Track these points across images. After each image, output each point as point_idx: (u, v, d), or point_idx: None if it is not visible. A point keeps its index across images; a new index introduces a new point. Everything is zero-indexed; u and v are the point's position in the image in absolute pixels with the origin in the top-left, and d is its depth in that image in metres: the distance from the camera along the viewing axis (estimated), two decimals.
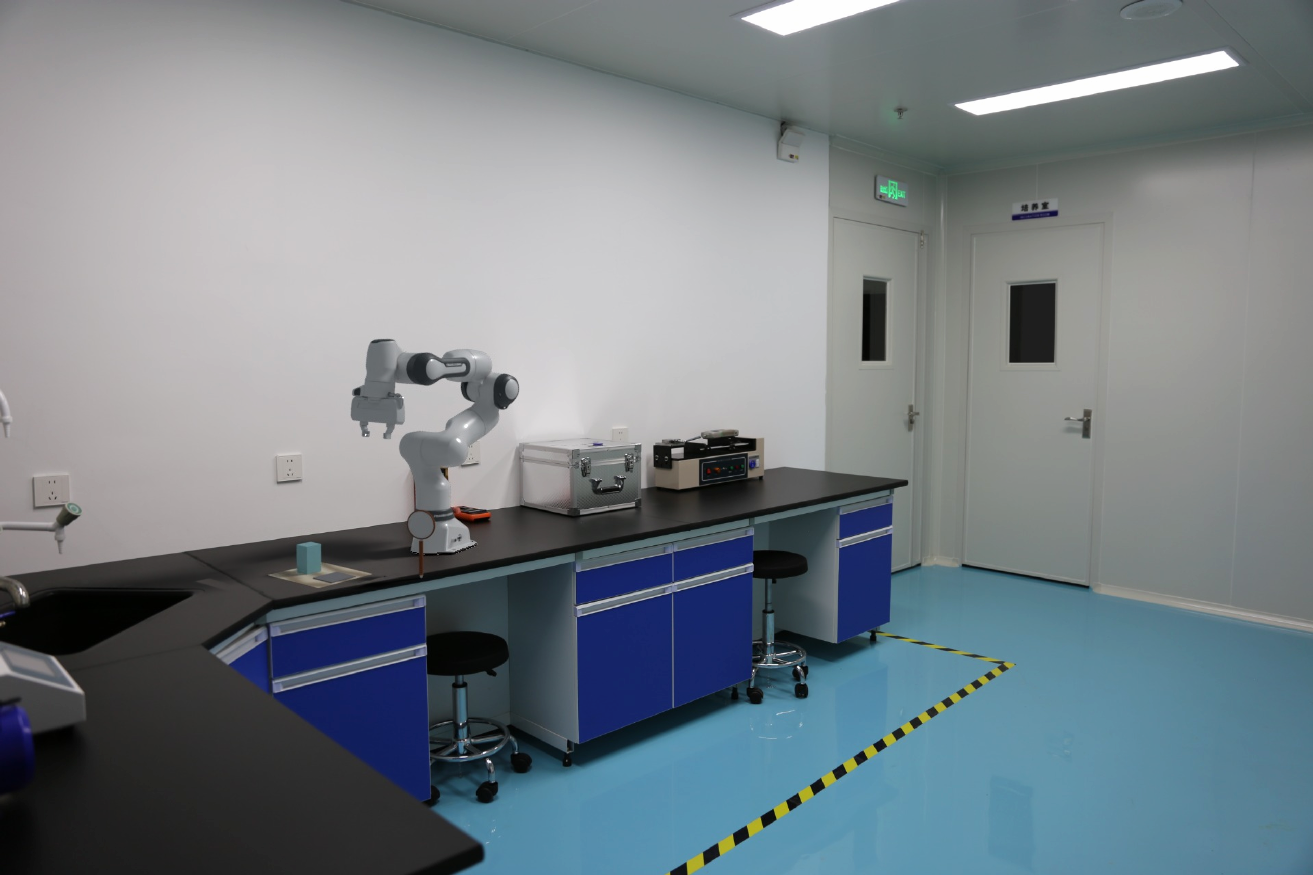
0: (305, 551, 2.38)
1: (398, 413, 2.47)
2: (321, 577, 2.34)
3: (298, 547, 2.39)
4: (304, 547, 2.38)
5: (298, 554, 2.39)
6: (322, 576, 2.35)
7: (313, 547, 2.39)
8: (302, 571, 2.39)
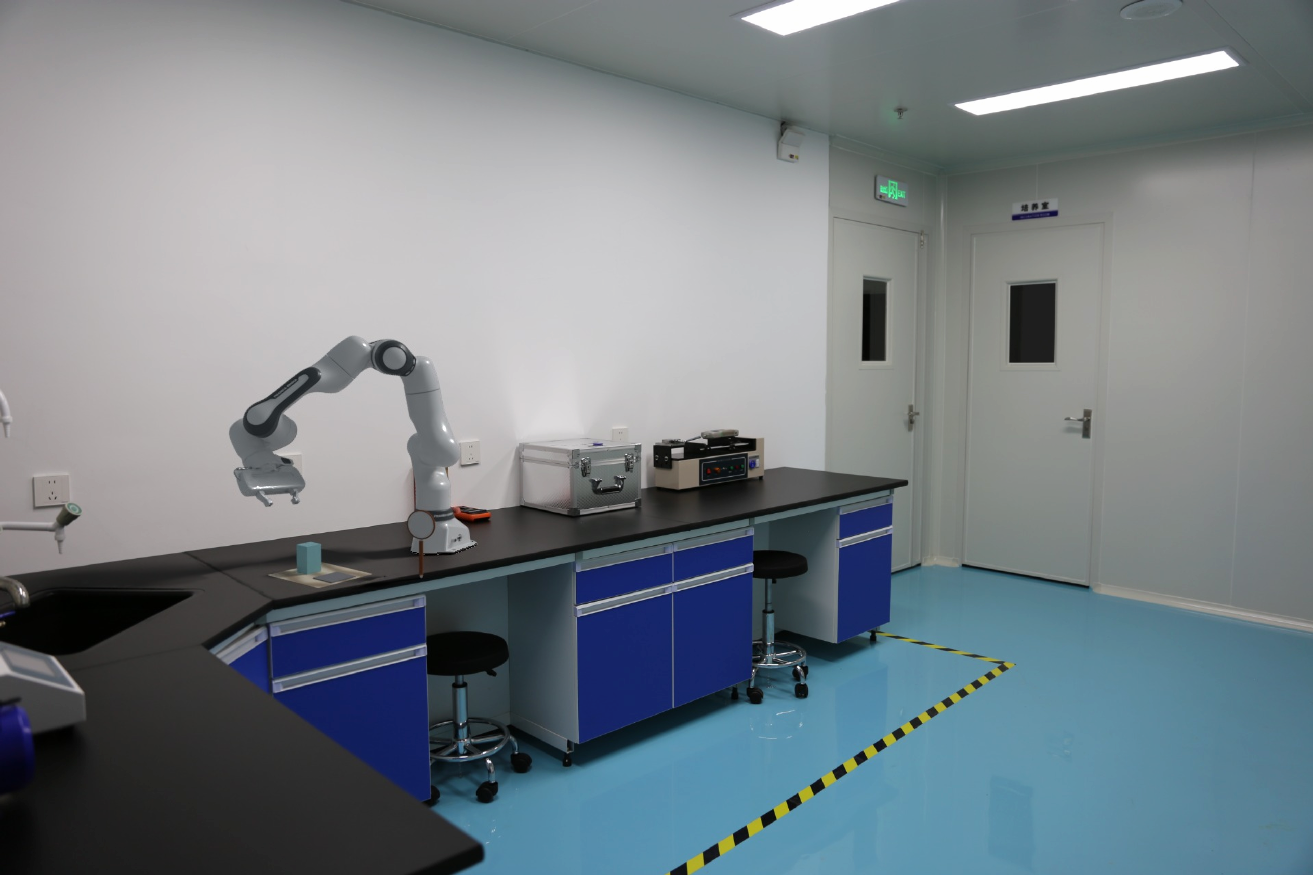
0: (305, 551, 2.38)
1: (239, 486, 2.38)
2: (321, 577, 2.34)
3: (298, 547, 2.39)
4: (304, 547, 2.38)
5: (298, 554, 2.39)
6: (322, 576, 2.35)
7: (313, 547, 2.39)
8: (302, 571, 2.39)
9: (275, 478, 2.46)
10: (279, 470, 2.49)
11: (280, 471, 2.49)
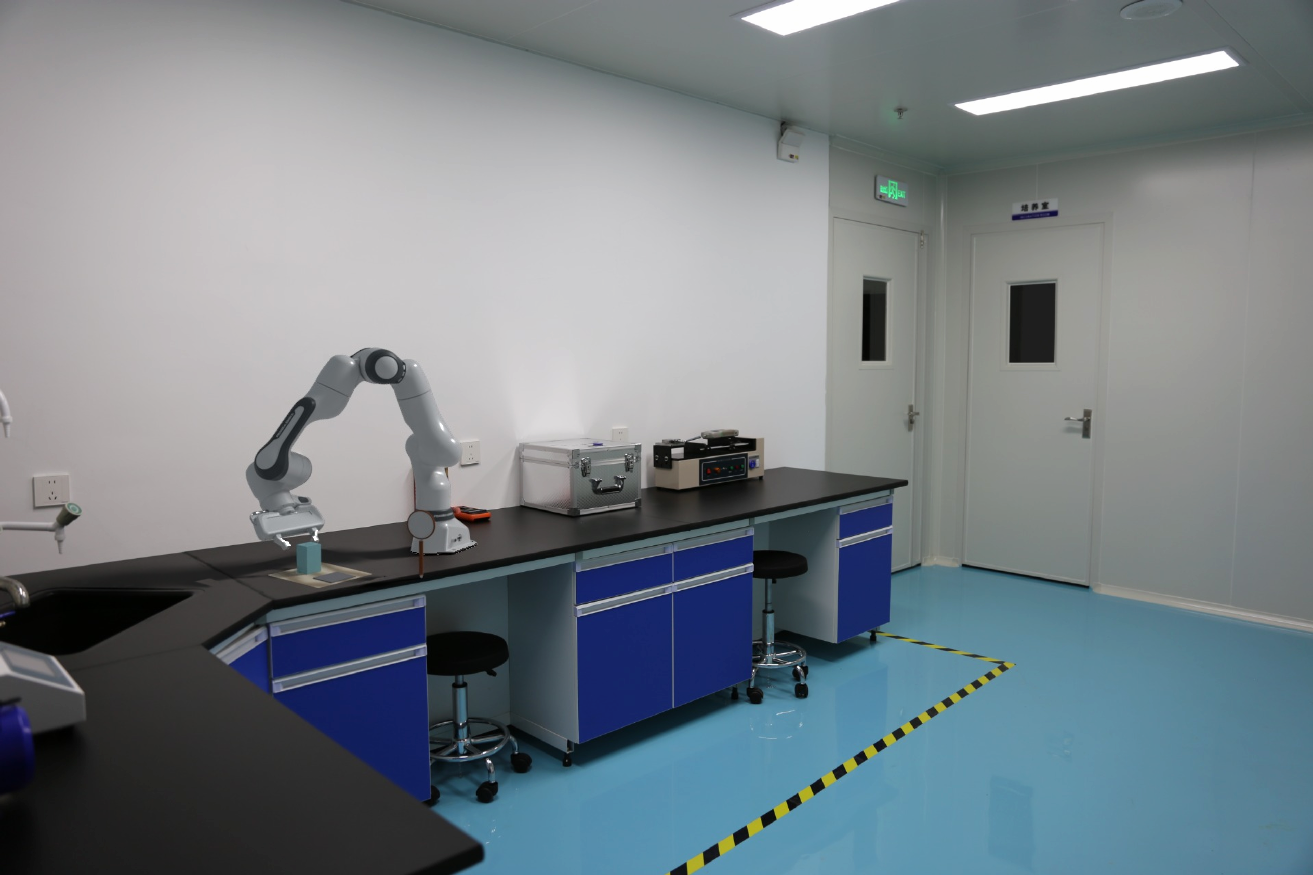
0: (305, 551, 2.38)
1: (256, 531, 2.36)
2: (321, 577, 2.34)
3: (298, 547, 2.39)
4: (304, 547, 2.38)
5: (298, 554, 2.39)
6: (322, 576, 2.35)
7: (313, 547, 2.39)
8: (302, 571, 2.39)
9: (292, 519, 2.44)
10: (297, 510, 2.47)
11: (297, 511, 2.47)
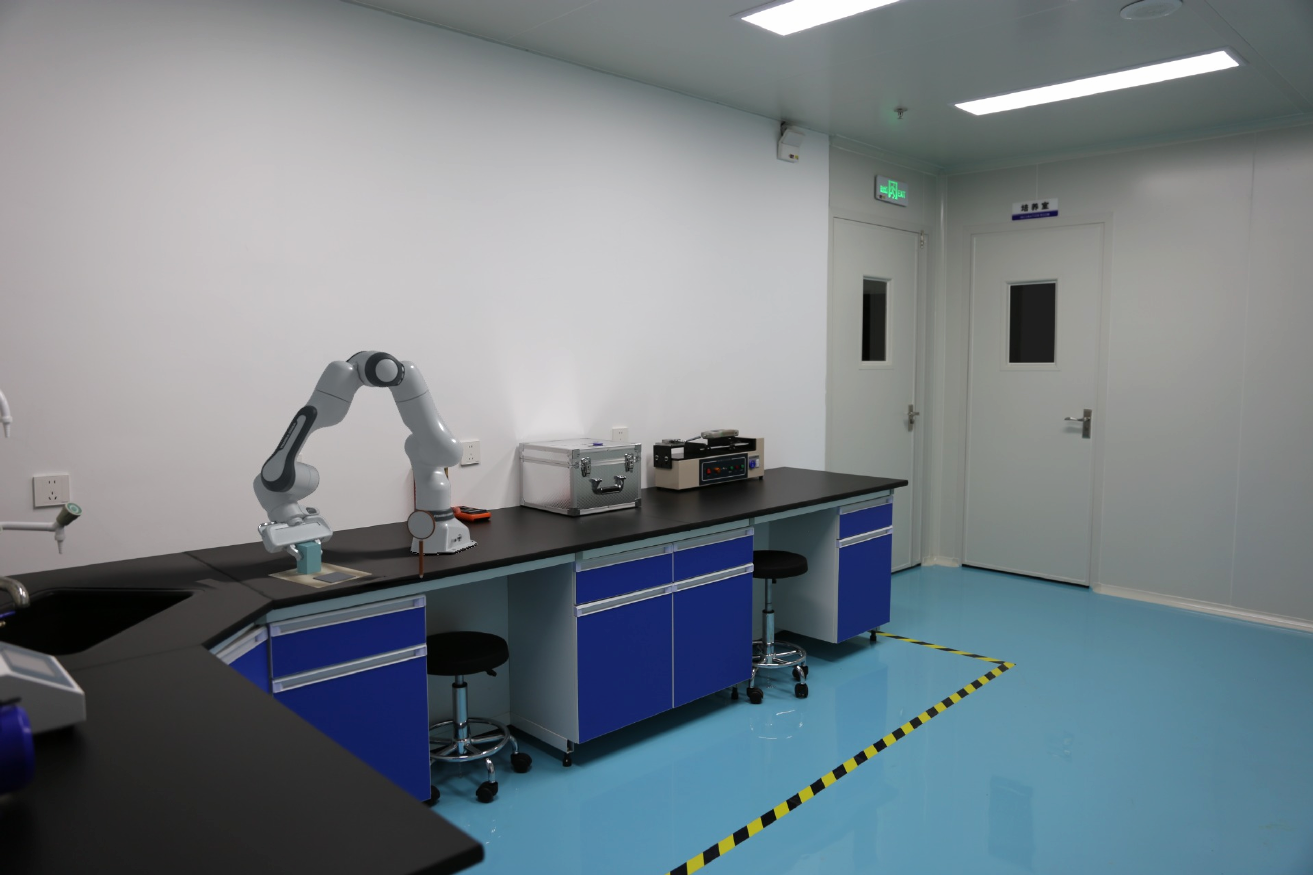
0: (305, 551, 2.38)
1: (264, 543, 2.35)
2: (321, 577, 2.34)
3: (298, 547, 2.39)
4: (304, 547, 2.38)
5: None
6: (322, 576, 2.35)
7: (313, 547, 2.39)
8: (302, 571, 2.39)
9: (301, 530, 2.42)
10: (305, 521, 2.45)
11: (306, 522, 2.45)
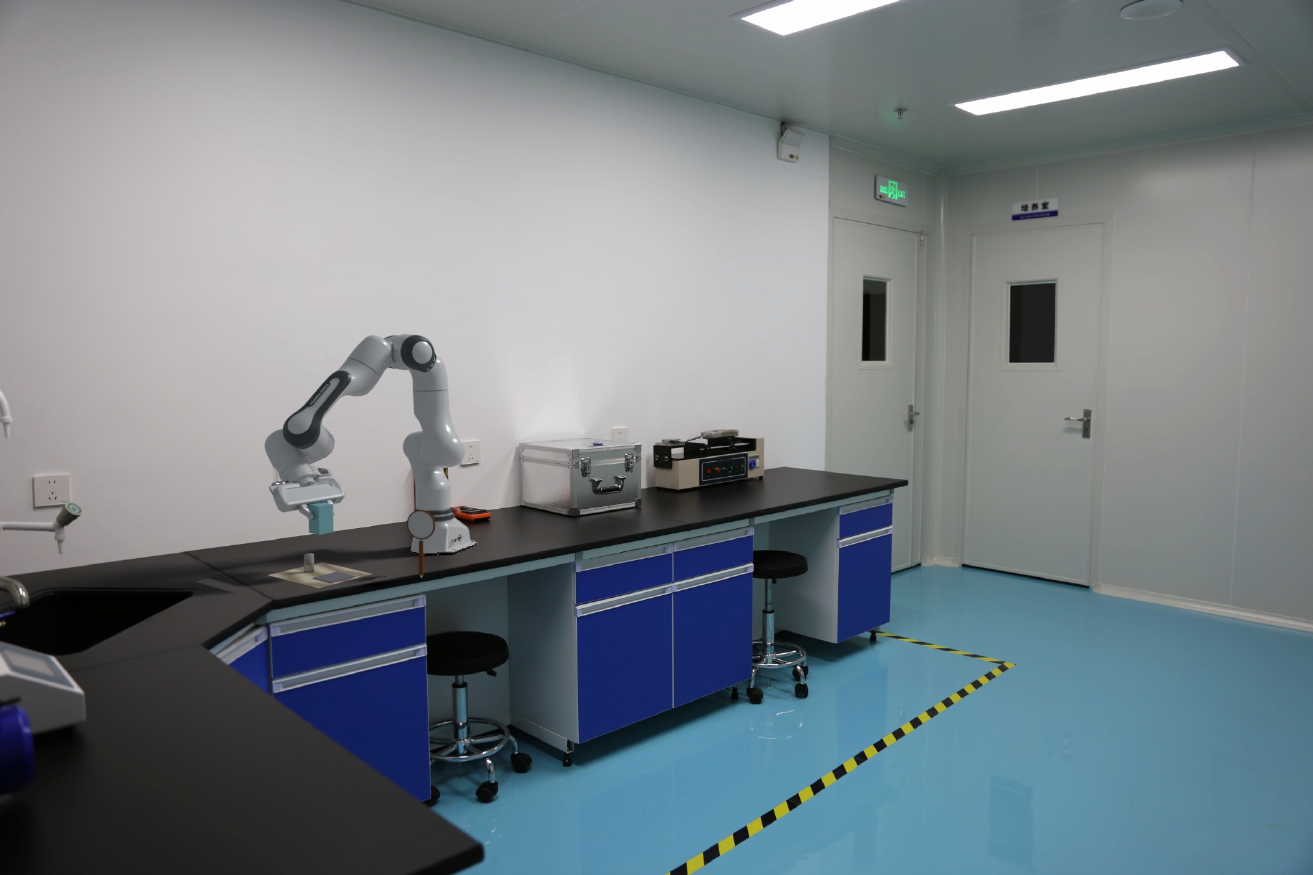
0: (317, 511, 2.34)
1: (276, 502, 2.31)
2: (321, 577, 2.34)
3: (310, 507, 2.35)
4: (316, 507, 2.34)
5: None
6: (322, 576, 2.35)
7: (325, 507, 2.35)
8: (314, 531, 2.35)
9: (312, 490, 2.38)
10: (317, 481, 2.41)
11: (318, 483, 2.41)
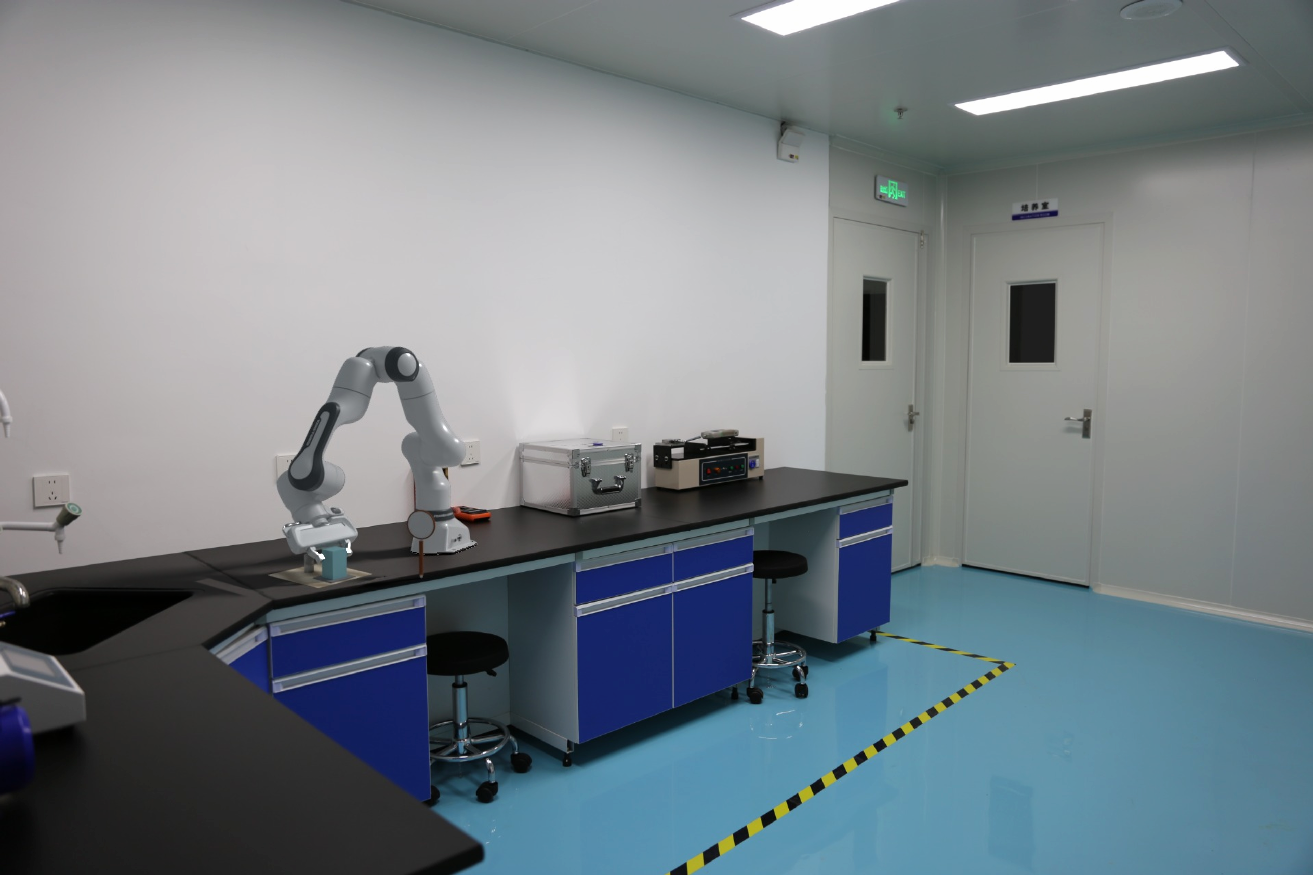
0: (331, 556, 2.32)
1: (289, 544, 2.29)
2: (321, 577, 2.34)
3: (323, 552, 2.33)
4: (330, 552, 2.32)
5: None
6: None
7: (339, 552, 2.33)
8: (327, 576, 2.33)
9: (326, 531, 2.36)
10: (329, 521, 2.39)
11: (330, 523, 2.39)
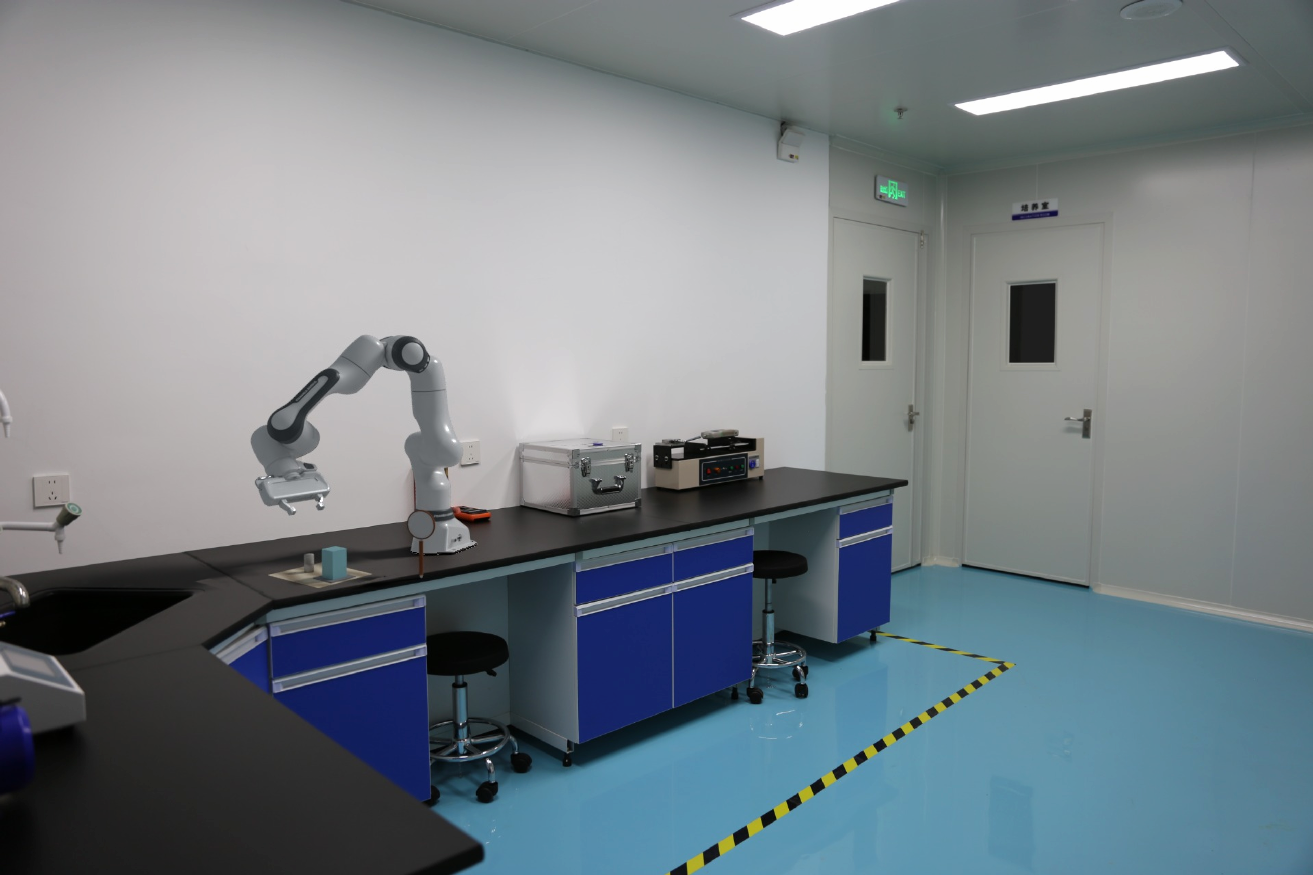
0: (331, 556, 2.32)
1: (261, 496, 2.34)
2: (321, 577, 2.34)
3: (323, 552, 2.33)
4: (330, 552, 2.32)
5: (323, 559, 2.34)
6: None
7: (339, 552, 2.33)
8: (327, 576, 2.33)
9: (298, 485, 2.41)
10: (302, 476, 2.44)
11: (303, 478, 2.44)
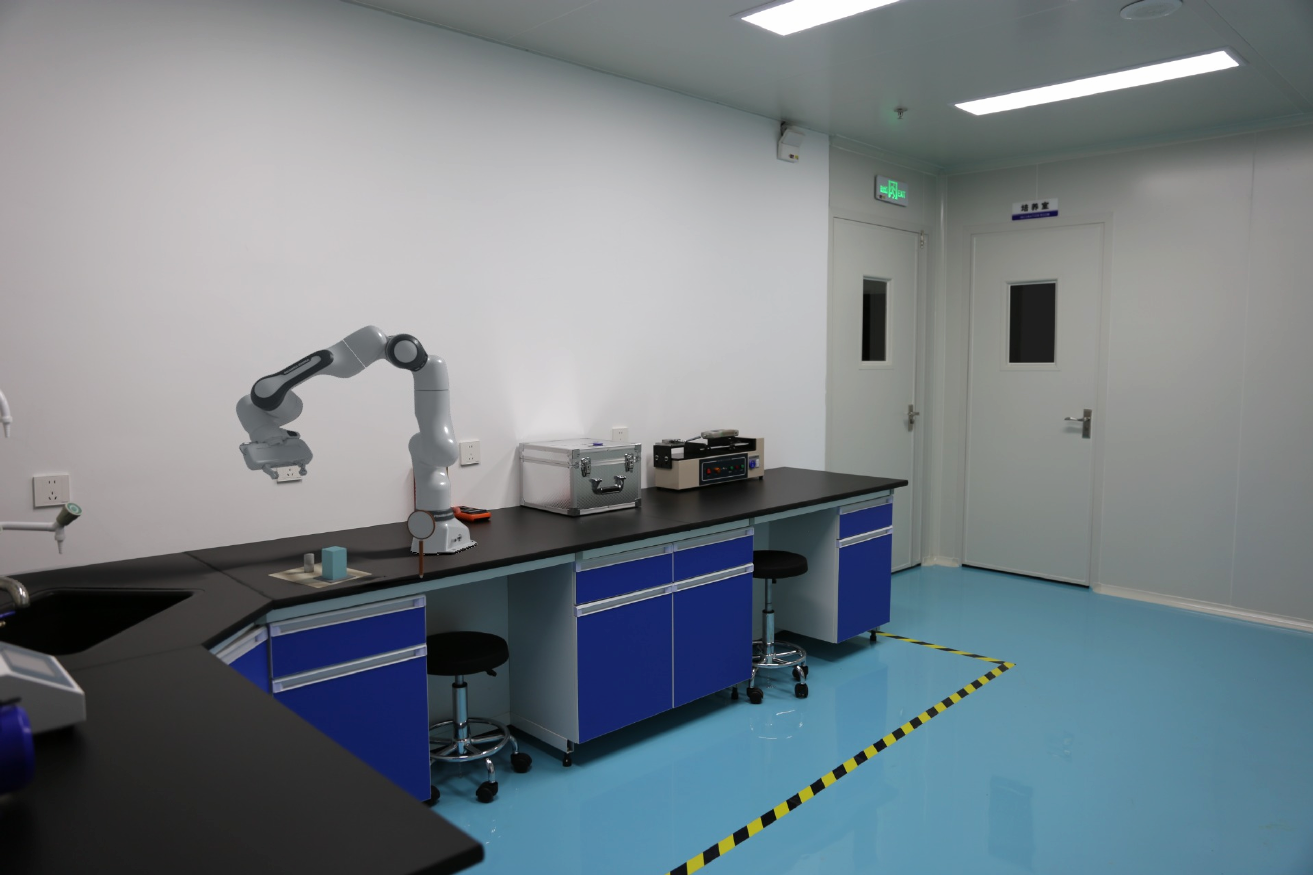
0: (331, 556, 2.32)
1: (245, 460, 2.43)
2: (321, 577, 2.34)
3: (323, 552, 2.33)
4: (330, 552, 2.32)
5: (323, 559, 2.34)
6: None
7: (339, 552, 2.33)
8: (327, 576, 2.33)
9: (281, 451, 2.51)
10: (285, 443, 2.54)
11: (286, 444, 2.54)
